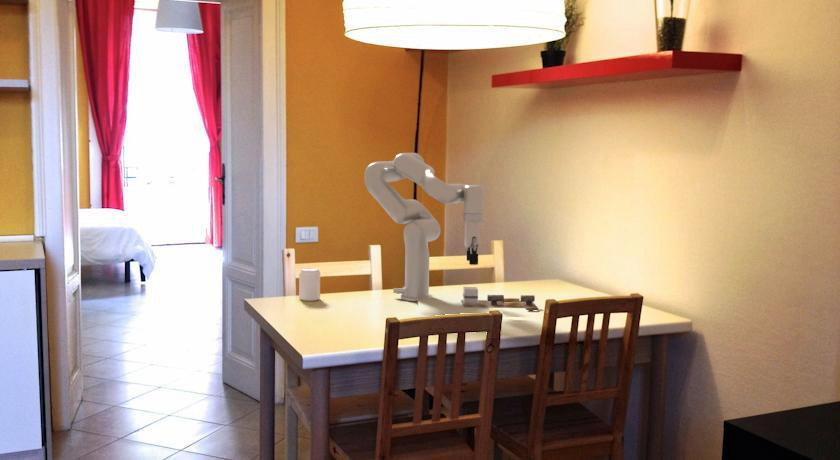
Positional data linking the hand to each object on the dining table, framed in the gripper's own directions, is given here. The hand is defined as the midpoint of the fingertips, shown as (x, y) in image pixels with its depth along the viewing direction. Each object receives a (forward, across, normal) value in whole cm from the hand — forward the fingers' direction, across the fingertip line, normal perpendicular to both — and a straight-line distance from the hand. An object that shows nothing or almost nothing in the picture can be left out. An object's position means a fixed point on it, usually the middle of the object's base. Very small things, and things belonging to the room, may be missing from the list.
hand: (472, 262), depth 303 cm
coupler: (+16, 0, 0) cm, 16 cm away
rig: (+17, 0, +11) cm, 20 cm away
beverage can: (+17, -10, -62) cm, 65 cm away
